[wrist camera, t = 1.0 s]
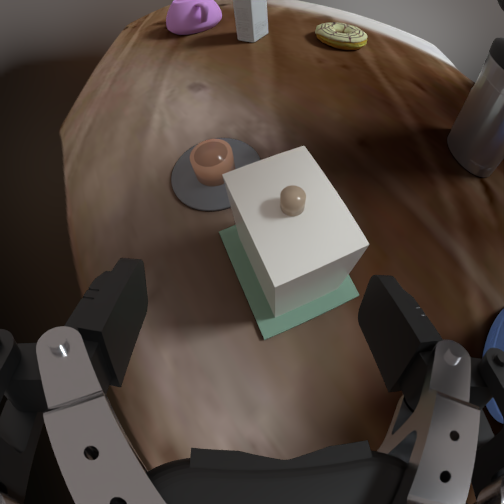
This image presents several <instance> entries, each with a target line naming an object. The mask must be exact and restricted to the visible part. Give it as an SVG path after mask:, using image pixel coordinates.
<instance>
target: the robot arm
mask: <svg viewBox="0 0 504 504" xmlns="http://www.w3.org/2000/svg"><path fill="white" fill-rule="evenodd" d="M498 3H499V5H500V7H501V8H502V10H503V11H504V0H498ZM451 129H452V130H451V132H450V133H449V135H448V137H447V143H448V147H449V149H450V151H451V153H452V155H453V156H454V157H455V159H456V160H457V161H458V162H459V163H460V164H461V165H462V166H463V167H464V168H465V169H466V170H468V171H469V172H470V173H472V174H474V175H476V176H479V177H488V176H490V175H491V173H492V172H493V171H494V170H495V168H496V167H497V166H498V165H499V163H500V162H501V161H502V160H503V158H504V38H496V39H495V40H494V41H493V43H492V46H491V48H490V50H489V53H488V55H487V58H486V60H485V63H484V65H483V67H482V70H481V72H480V74H479V76H478V79H477V81H476V83H475V85H474V87H473V88H472V89H471V91H470V93H469V95H468V97H467V99H466V101H465V103H464V105H463V107H462V109H461V111H460V113H459V115H458V117H457V119H456V121H455V123H454V125H453V126H452V128H451ZM147 306H148V296H147V288H146V280H145V271H144V263H143V261H142V260H141V259H129V258H120V259H119V261H118V262H117V264H116V265H115V267H114V268H113V270H112V271H105V272H104V273H102V274H101V275H100V276H98V277H97V278H95V280H94V281H93V282H92V284H91V285H90V287H89V290H87V291H86V293H85V294H84V296H83V298H82V299H81V300H80V302H79V304H78V305H77V307H76V308H75V310H74V311H73V313H72V314H71V316H70V318H69V319H68V321H67V322H66V324H65V326H61V327H56V328H53V329H50V330H49V331H47V332H45V333H44V334H43V335H42V336H41V337H40V339H39V340H38V342H37V343H23V344H16V342H15V340H14V338H13V336H12V334H11V333H10V332H9V331H7V330H4V329H0V402H1V399H2V398H3V395H5V396H6V397H7V401H6V404H5V406H4V409H3V411H2V414H1V416H0V504H24V498H25V493H26V488H27V483H28V478H29V474H30V470H31V466H32V462H33V457H34V453H35V450H36V447H37V443H38V440H39V436H40V433H41V430H42V426H43V423H44V422H45V425H46V429H47V431H48V435H49V438H50V442H51V445H52V448H53V451H54V453H55V456H56V459H57V462H58V464H59V467H60V470H61V472H62V475H63V477H64V479H65V482H66V484H67V486H68V489H69V491H70V493H71V495H72V497H73V499H74V502H75V504H467V503H466V499H467V495H468V491H469V487H470V483H471V482H472V485H473V489H474V492H475V496H476V500H477V502H475V503H473V504H504V423H503V427H502V429H501V431H500V432H499V433H498V434H497V435H496V436H494V434H493V432H492V430H491V427H490V425H489V423H488V420H487V418H486V416H485V414H484V412H483V410H482V409H483V408H484V406H485V405H486V404H487V403H488V402H489V401H490V400H491V399H492V398H494V400H495V402H496V404H497V406H498V408H499V410H500V412H501V414H502V416H503V420H504V351H502V350H500V349H498V348H490V349H488V350H487V352H486V353H485V355H484V356H483V358H482V359H479V358H471V357H470V356H469V354H468V352H467V351H466V350H465V348H464V347H462V346H461V345H460V344H458V343H456V342H454V341H451V340H443V339H442V338H441V336H440V335H439V333H438V332H437V330H436V329H435V327H434V326H433V324H432V323H431V322H430V320H429V319H428V317H427V316H425V313H424V312H423V310H422V309H421V308H420V306H419V305H418V303H417V302H416V301H415V299H414V298H413V297H412V296H411V295H410V294H408V293H407V292H406V291H405V290H403V289H402V287H401V286H400V285H399V283H398V282H397V281H396V279H395V278H394V277H393V276H386V275H373V276H372V277H371V278H370V281H369V283H368V286H367V289H366V292H365V295H364V297H363V300H362V303H361V305H360V308H359V312H358V322H359V325H360V328H361V330H362V332H363V334H364V336H365V339H366V341H367V343H368V345H369V347H370V350H371V352H372V354H373V356H374V359H375V361H376V363H377V366H378V368H379V370H380V373H381V375H382V377H383V380H384V382H385V385H386V387H387V389H388V392H395V391H401V390H402V392H403V395H402V396H401V398H400V399H399V402H398V405H397V408H396V410H395V413H394V416H393V419H392V422H391V424H390V427H389V430H388V432H387V435H386V437H385V440H384V441H383V443H382V445H381V446H380V448H379V449H378V451H371V450H370V447H369V443H368V440H366V441H361V442H355V443H349V444H342V445H335V446H329V447H326V448H323V449H321V450H318V451H315V452H312V453H309V454H306V455H303V456H300V457H297V458H293V459H290V460H280V459H274V458H269V457H264V456H259V455H254V454H249V453H245V452H241V451H229V450H211V449H198V448H191V458H186V459H180V460H176V461H171V462H168V463H165V464H162V465H160V466H158V467H156V468H153V469H152V470H150V471H148V470H147V469H146V467H145V466H144V464H143V463H142V461H141V459H140V458H139V456H138V454H137V453H136V451H135V450H134V448H133V446H132V445H131V443H130V441H129V439H128V437H127V436H126V434H125V432H124V430H123V428H122V426H121V424H120V422H119V420H118V418H117V417H116V415H115V412H114V410H113V408H112V407H111V404H110V402H109V400H108V398H107V396H106V393H107V390H108V387H109V385H112V386H117V387H121V385H122V382H123V379H124V376H125V373H126V370H127V367H128V364H129V361H130V358H131V355H132V352H133V349H134V346H135V343H136V340H137V338H138V335H139V332H140V329H141V327H142V324H143V321H144V318H145V316H146V312H147Z"/></svg>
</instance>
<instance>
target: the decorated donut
mask: <svg viewBox="0 0 504 504" xmlns="http://www.w3.org/2000/svg"><path fill="white" fill-rule="evenodd" d="M315 34H316V36H317V38H318V39H319V40H321V41H322V43H325V44H327V45H329V46H332V47H334V48H338V49H344V50H357V49H360V48H361V47H363V46H364V45H365V44H366V43H367V35H366V34H365V32H363V31H362V30H361V29H359V28H357V27H354V26H351V25H347V24H343V23H335V22H332V23H324V24H321V25H318V26H317V27H316V31H315Z"/></svg>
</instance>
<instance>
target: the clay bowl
mask: <svg viewBox="0 0 504 504" xmlns="http://www.w3.org/2000/svg"><path fill="white" fill-rule="evenodd" d="M190 162H191V164H192V167H193V170H194V172H195V175H196V177H197V179H198V181H199V182H200V183H202V184H203V185H206V186H219V185H222V184H224V180H223V176H222V174H224V173H227V172H230V171H232V170H235V163H234V158H233V153H232V148H231V146H230V145H229V143H227V142H226V141H224V140H221V139H209V140H205V141H203V142H201V143H199V144H198V145H196V146H195V147H194V148H193V150H192V151H191V154H190Z"/></svg>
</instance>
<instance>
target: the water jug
mask: <svg viewBox="0 0 504 504" xmlns="http://www.w3.org/2000/svg"><path fill="white" fill-rule="evenodd" d="M490 348H498V349H500V350H502V351H504V309H503V310H502V311H501V312H500V313H499V314H498V316H497V317H496V319H495V320H494V322H493V324H492V326H491V328H490V331H489V333H488V336H487V339H486V343H485V347H484V351H483V356H484V355H485V353H486V352H487V350H488V349H490ZM482 358H483V357H482ZM486 407H487V409H488V411H489V412H490V414H491V415H492V417H493V418H494V419H495V420H497V421H498V422H500V423H502V424H503V423H504V420H503V416H502V414H501V412H500V410H499V408H498V406H497V404H496V402H495V400H494V398H492V399H491V400H490V401H489V402H488V403H487V404H486Z"/></svg>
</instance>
